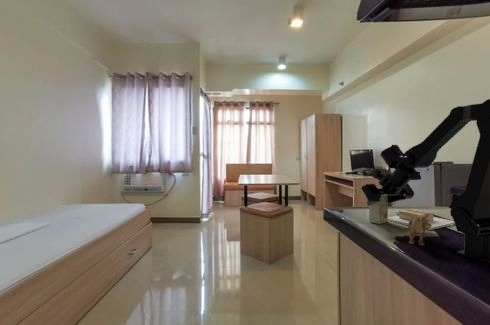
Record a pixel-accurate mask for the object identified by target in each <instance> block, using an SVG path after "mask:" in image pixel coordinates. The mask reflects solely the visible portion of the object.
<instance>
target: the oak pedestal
mask: <svg viewBox="0 0 490 325" xmlns="http://www.w3.org/2000/svg"><path fill="white" fill-rule="evenodd" d="M416 215H422V216H424V217H425V220H426V221H427V222H429V221H433V217H434V212H431V211H425V210H420V209H416V208H409V209H402V210H399V211H398V216H399V218H400V219H404V220H408V221H410V220H411V219H412V218H413V217H414V216H416Z"/></svg>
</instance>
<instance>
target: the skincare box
mask: <svg viewBox="0 0 490 325" xmlns="http://www.w3.org/2000/svg"><path fill="white" fill-rule="evenodd" d="M379 200H380V201H379V202H376V203H374V204H372V205H370V206H368V210H369V211H368V213H369V214H368V221H369V223H373V224H379V225H381V224H384V223H388V217H389V216H388V212H389V209H388V208H389V206H388V205H389V204H388V195H381V198H380V199H379Z"/></svg>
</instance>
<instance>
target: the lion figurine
mask: <svg viewBox="0 0 490 325" xmlns="http://www.w3.org/2000/svg"><path fill="white" fill-rule="evenodd" d="M407 226H408V234H409V241H408V244H409V243H410V244H411V245H414V243H415V240H414V238H415V236H418V237H419V239H418V244H419V245H420V246H425V243H424V239H425V238H426V232H428V231H430V230H429V228H430V227H431V226H432V225H430V224H429V223H428V222H427V221H426V220H425V217H424V216H422V215H416V216H414V217H413V218H412V219H411V220H410V221H409V224H408V225H407Z"/></svg>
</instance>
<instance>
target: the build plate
mask: <svg viewBox="0 0 490 325" xmlns="http://www.w3.org/2000/svg"><path fill="white" fill-rule="evenodd" d="M388 221H389V222H393V223H396V224H400V225H405V226H408V224H409V221H408V220H404V219H400V218H399V215H395V216H388ZM428 223H429V224H430V225H432V226H431V227H430V228H429V230H428V231H432V230H437V229H443V228H445V226H446V227H449V226H448V225H451V224H455V223H454V220H451V219H445V218H440V217H436V216H433V221H429V222H428ZM451 226H452V225H451Z"/></svg>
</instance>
